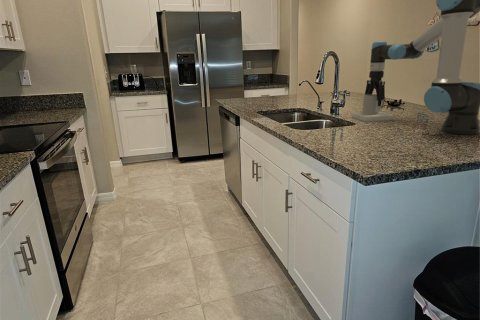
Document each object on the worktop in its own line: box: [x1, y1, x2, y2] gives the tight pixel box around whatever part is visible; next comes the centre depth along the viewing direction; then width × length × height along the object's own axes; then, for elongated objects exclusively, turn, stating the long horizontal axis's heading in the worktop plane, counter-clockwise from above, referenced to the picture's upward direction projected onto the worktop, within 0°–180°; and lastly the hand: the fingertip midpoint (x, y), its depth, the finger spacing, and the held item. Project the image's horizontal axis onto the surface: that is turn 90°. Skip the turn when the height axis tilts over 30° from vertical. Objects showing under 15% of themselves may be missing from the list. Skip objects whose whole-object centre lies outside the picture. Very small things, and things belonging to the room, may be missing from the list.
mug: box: [361, 93, 385, 115], centre depth 183 cm, size 12×8×11 cm
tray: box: [351, 111, 395, 123], centre depth 186 cm, size 18×16×3 cm
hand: (372, 110), depth 185 cm, fingers closed on mug, 8 cm apart
